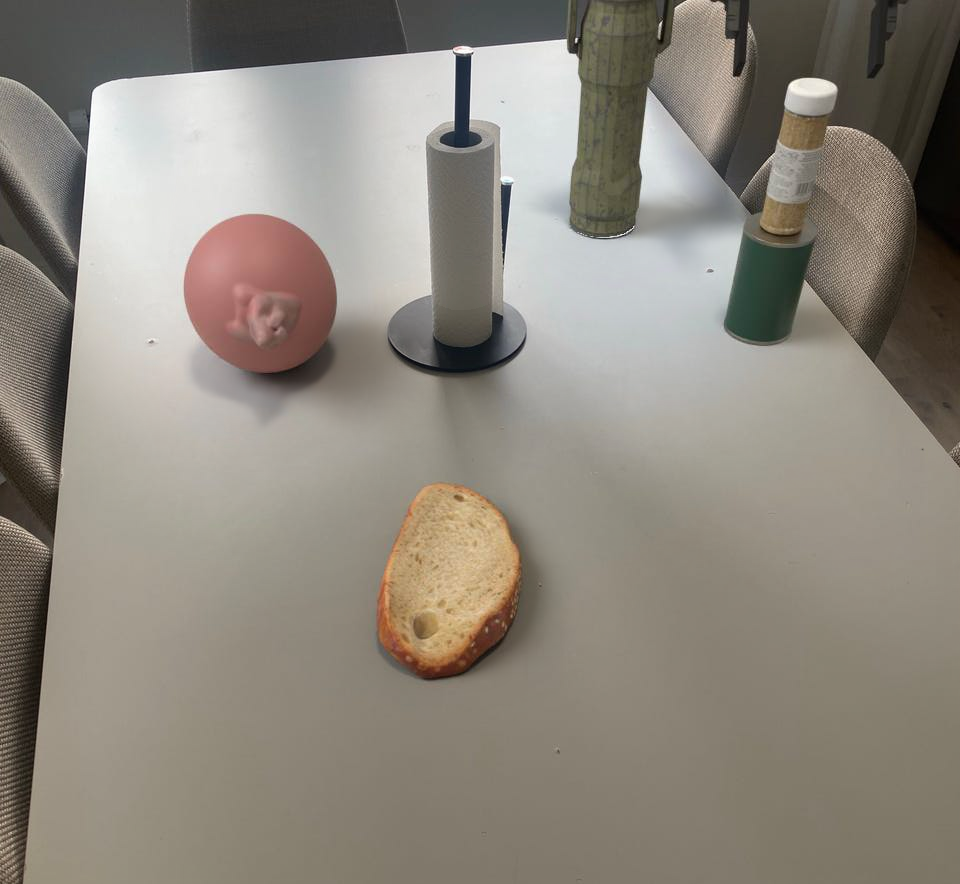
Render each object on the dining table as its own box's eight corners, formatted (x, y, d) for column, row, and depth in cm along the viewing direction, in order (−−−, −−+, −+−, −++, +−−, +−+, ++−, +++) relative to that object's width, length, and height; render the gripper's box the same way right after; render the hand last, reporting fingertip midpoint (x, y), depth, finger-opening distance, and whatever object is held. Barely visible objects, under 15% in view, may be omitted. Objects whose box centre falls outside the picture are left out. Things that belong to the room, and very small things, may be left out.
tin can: (792, 314, 108) (818, 214, 100) (790, 349, 104) (817, 248, 95) (726, 306, 110) (746, 207, 101) (721, 340, 105) (741, 240, 96)
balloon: (196, 435, 94) (155, 292, 83) (206, 328, 107) (172, 192, 96) (350, 421, 96) (330, 279, 84) (342, 317, 109) (324, 181, 97)
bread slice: (451, 484, 89) (450, 452, 86) (590, 584, 80) (594, 552, 78) (295, 576, 81) (288, 544, 78) (430, 698, 73) (428, 667, 70)
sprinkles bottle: (790, 214, 100) (824, 73, 90) (810, 234, 97) (848, 91, 87) (750, 219, 99) (780, 78, 89) (769, 239, 96) (802, 96, 86)
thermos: (656, 235, 121) (701, -106, 95) (566, 243, 120) (586, -100, 93) (637, 204, 127) (675, -126, 100) (551, 211, 126) (567, -120, 99)
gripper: (932, -123, 97) (917, 91, 99) (688, -123, 98) (677, 88, 100) (966, -181, 90) (949, 51, 91) (701, -180, 91) (688, 48, 92)
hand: (806, 71), depth 96 cm, fingers open, 13 cm apart
